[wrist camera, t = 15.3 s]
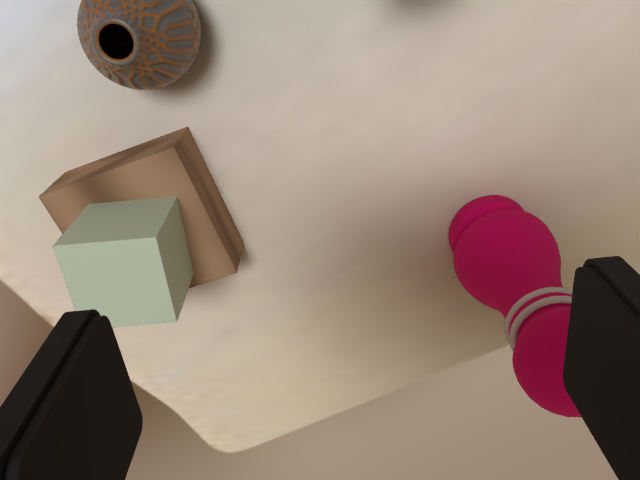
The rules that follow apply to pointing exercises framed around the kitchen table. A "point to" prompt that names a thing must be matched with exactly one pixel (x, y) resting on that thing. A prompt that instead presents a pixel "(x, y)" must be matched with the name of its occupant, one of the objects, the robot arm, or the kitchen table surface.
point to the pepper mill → (518, 290)
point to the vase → (140, 39)
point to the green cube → (127, 261)
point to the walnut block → (157, 182)
